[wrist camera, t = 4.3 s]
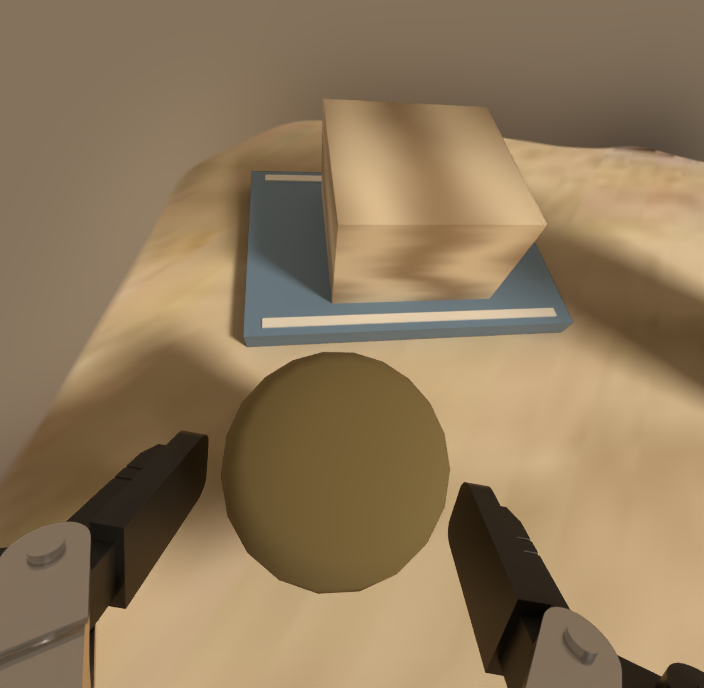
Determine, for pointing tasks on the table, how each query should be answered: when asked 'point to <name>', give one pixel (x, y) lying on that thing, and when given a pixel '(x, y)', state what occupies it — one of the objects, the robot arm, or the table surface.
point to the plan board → (364, 318)
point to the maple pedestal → (420, 202)
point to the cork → (335, 472)
